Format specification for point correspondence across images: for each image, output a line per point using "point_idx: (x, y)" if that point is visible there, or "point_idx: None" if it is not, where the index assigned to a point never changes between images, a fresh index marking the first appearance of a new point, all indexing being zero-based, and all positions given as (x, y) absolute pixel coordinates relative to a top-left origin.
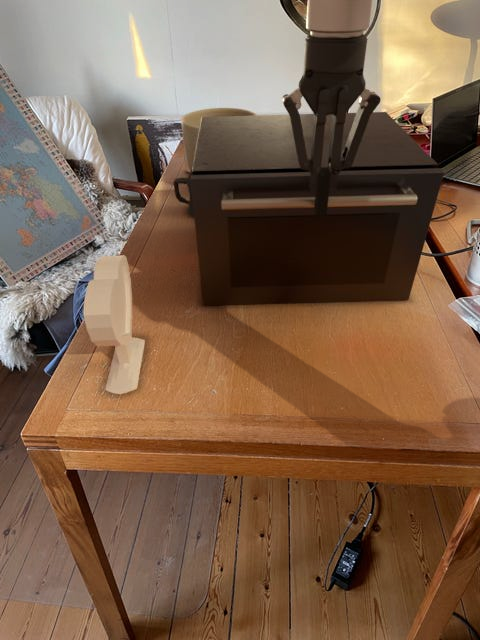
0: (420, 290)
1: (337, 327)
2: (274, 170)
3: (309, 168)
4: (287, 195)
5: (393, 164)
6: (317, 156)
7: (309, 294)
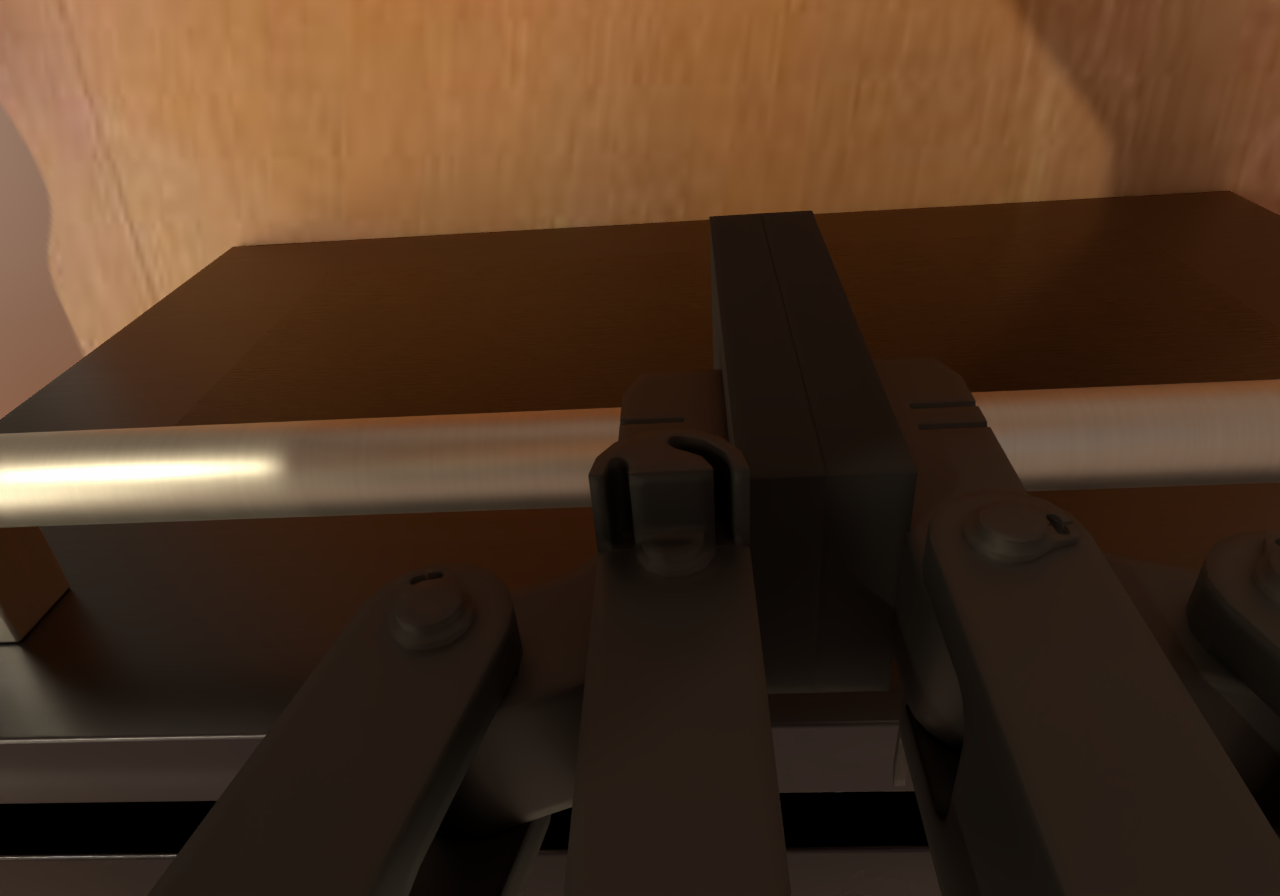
0: None
1: (573, 22)
2: None
3: (1126, 587)
4: None
5: (49, 873)
6: (1118, 748)
7: (699, 235)
